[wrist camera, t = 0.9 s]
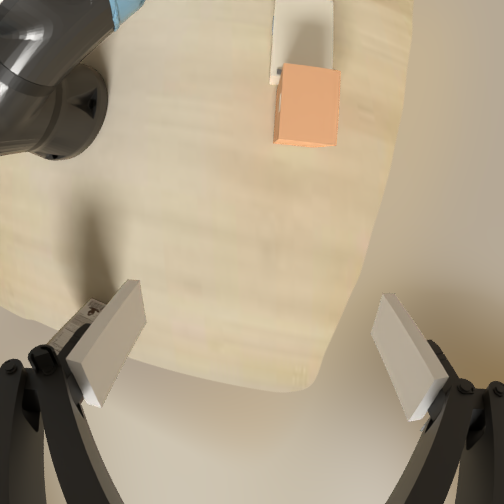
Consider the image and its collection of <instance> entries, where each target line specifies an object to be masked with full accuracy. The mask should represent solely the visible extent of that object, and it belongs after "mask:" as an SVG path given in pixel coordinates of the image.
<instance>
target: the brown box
mask: <svg viewBox="0 0 504 504" xmlns="http://www.w3.org/2000/svg"><path fill="white" fill-rule="evenodd" d="M340 74H341V71H338V70H332V69H326V68H320V67H313V66H305V65H297V64H288V63H284V64H283V68H282V72H281V76H280V80H279V84H278V88H277V98H276V112H275V126H274V140H273V143H276V144H287V145H297V146H306V147H324V146H336V143H337V130H338V116H339V98H340Z"/></svg>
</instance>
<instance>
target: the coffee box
mask: <svg viewBox="0 0 504 504" xmlns="http://www.w3.org/2000/svg"><path fill="white" fill-rule="evenodd" d="M105 306H106V304H104V303H102V302H99V301H97V300H95V299H93V298H91V299H90V300H89V301H88V302H87V303H86V304H85V305H84V306H83V307H82V308H81V309H80V310H79V311H78V312H77V313H76V314H75V315H74V316H73V317H72V318H71V319H70V320H69V321H68V322H67V323H66V324H65V325H64V326H63V327H62V328H61V329H60V330H59V331H58V333H56V334H55V335H54V336H53V338H52V339H51V340H50V341H49V342H48V343H47V344H46V345H50V346H52V347H53V348H54V350H55V352H56V355H58V353H59V352H60V351H61V350H62V348H63V347H64V346H65V344H66V343H67V342H68V340H69V339H70V338H71V337H73V334H74V333H75V331H76V330H77V329H78V328H79V327H81V326H82V325H84V324H85V323H88V324H92V323H93V322H94V320H95V319H96V318H97V316H98V315H99V314H100V313H101V311H102V310H103V309H104V307H105ZM83 399H84V397H83V396H82V398H81V400H80V401H79V402H80V403H82V401H83Z"/></svg>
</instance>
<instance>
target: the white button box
mask: <svg viewBox="0 0 504 504" xmlns="http://www.w3.org/2000/svg"><path fill="white" fill-rule="evenodd" d="M272 35H273V37H272V52H271V67H270V82H269V84H273V85H278V84H279V80H280V76H281V72H282V68H283V64H284V63H288V64H297V65H305V66H313V67H320V68H326V69H332V70H333V1H329V0H275V7H274V16H273V27H272Z"/></svg>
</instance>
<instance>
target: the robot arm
mask: <svg viewBox="0 0 504 504" xmlns="http://www.w3.org/2000/svg"><path fill="white" fill-rule="evenodd" d="M144 2H145V0H0V156H2V155H8V154H15V153H21V152H30V153H33V154H35V155H38V156H40V157H42V158H45V159H48V160H65V159H70V158H73V157H75V156H77V155H79V154H80V153H82V152H83V151H84V150H85V149H87V148H88V146H89V145H90V144H91V143H92V142H93V140H94V139H95V138H96V136H97V134H98V133H99V131H100V129H101V126H102V124H103V121H104V118H105V114H106V109H107V90H106V86H105V83H104V80H103V78H102V77H101V75H100V74H99V73H98V72H97V71H96V70H95V69H93V68H92V67H90V66H87V65H84V64H81V63H80V62H81V61H82V60H83V59H84V58H85V57H86V56H87V55H88V54H89V53H90V52H91V51H92V50H93V49H94V48H95V47H96V46H97V45H98V44H99V43H101V42H102V41H103V40H104V39H105V38H106V37H107V36H108V35H110V34H111V33H112V32H113V31H116V30H118V29H119V26H120V25H121V24H122V23H123V22H124V21H125V20H127V19H128V18H129V17H130V16H131V15H132V14H134V13H135V12H136V11H137V10H139V9H140V8H141V7H142V5H143V4H144ZM145 324H146V316H145V310H144V304H143V298H142V292H141V285H140V281H139V280H128V279H127V281H126V282H125V283H124V284H123V285H122V287H121V288H120V289H119V290H118V291H117V293H116V294H115V295H114V296H113V298H112V299H111V300H110V301H109V302H108V304H107V305H106V306H105V307H104V309H103V310H102V311H101V313H100V314H99V315H98V316H97V318H96V319H95V320H94V322H93V323H92V324H88V323H85V324H84V325H82V326H81V327H79V328H78V329H77V330H76V331H75V333H74V334H73V337H71V338H70V339H69V340H68V342H67V343H66V344H65V346H64V347H63V348H62V350H61V351H60V352H59V353H58V355H56V352H55V350H54V348H53V347H52V346H50V345H46V344H45V345H39V346H37V347H35V348H34V349H32V350H31V351H30V353H29V354H28V360H29V362H30V364H31V366H32V368H24V367H23V365H22V363H21V361H20V360H18V359H11V360H8V361H6V362H5V363H4V364H2V366H1V368H0V504H46V494H45V481H44V456H43V455H44V453H43V452H44V451H43V450H44V447H43V446H44V443H43V442H44V430H45V434H46V438H47V442H48V446H49V450H50V454H51V458H52V461H53V464H54V468H55V471H56V474H57V477H58V480H59V483H60V486H61V489H62V492H63V494H64V497H65V499H66V502H67V504H124V502H123V501H122V499H121V497H120V495H119V493H118V491H117V489H116V487H115V485H114V484H113V482H112V479H111V478H110V475H109V473H108V471H107V469H106V467H105V465H104V462H103V460H102V458H101V456H100V453H99V451H98V449H97V446H96V444H95V441H94V439H93V436H92V433H91V431H90V428H89V425H88V423H87V420H86V417H85V414H84V411H83V408H82V405H81V403H80V402H79V401H80V400H81V398H82V396H83V397H84V399H85V400H86V402H87V404H90V405H93V406H97V407H100V408H102V406H103V404H104V402H105V400H106V398H107V396H108V394H109V392H110V390H111V388H112V386H113V384H114V382H115V380H116V378H117V376H118V374H119V372H120V370H121V368H122V367H123V365H124V363H125V361H126V359H127V357H128V355H129V353H130V351H131V350H132V348H133V346H134V344H135V342H136V340H137V338H138V337H139V335H140V333H141V331H142V329H143V328H144V326H145ZM371 335H372V337H373V340H374V342H375V344H376V346H377V348H378V350H379V353H380V355H381V357H382V360H383V362H384V364H385V367H386V369H387V371H388V373H389V376H390V378H391V381H392V383H393V385H394V388H395V390H396V393H397V395H398V398H399V400H400V403H401V405H402V408H403V410H404V413H405V415H406V418H407V421H408V422H409V421H414V420H419V419H422V418H423V417H424V415H425V413H426V412H427V411H428V412H429V415H430V418H429V419H428V421H427V422H426V423H425V425H424V426H423V427H422V429H421V430H420V431H423V432H422V435H421V437H420V439H419V441H418V444H417V446H416V448H415V450H414V452H413V454H412V456H411V458H410V461H409V462H408V465H407V466H406V468H405V470H404V472H403V474H402V476H401V478H400V480H399V482H398V483H397V485H396V487H395V488H394V490H393V492H392V494H391V495H390V497H389V499H388V500H387V502H386V503H385V504H443V503H444V501H445V499H446V496H447V494H448V491H449V489H450V486H451V484H452V481H453V478H454V475H455V473H456V469H457V467H458V464H459V461H460V468H459V477H458V486H457V494H456V500H455V504H504V384H503V383H501V382H498V381H493V382H491V383H490V384H489V386H488V387H487V389H476V388H475V387H474V385H473V384H472V383H471V382H470V381H468V380H466V379H462V378H461V379H459V377H458V376H457V374H456V372H455V371H454V369H453V367H452V366H451V365H450V363H449V361H448V360H447V358H446V356H445V355H444V354H443V352H442V351H441V349H440V347H439V346H438V345H437V344H436V343H435V342H433V341H432V340H426V339H425V337H424V336H423V334H422V333H421V331H420V330H419V328H418V327H417V325H416V324H415V322H414V321H413V319H412V318H411V316H410V315H409V313H408V312H407V310H406V309H405V307H404V306H403V305H402V303H401V302H400V300H399V299H398V298H397V296H396V295H395V293H383V294H382V298H381V301H380V305H379V308H378V312H377V315H376V318H375V321H374V325H373V328H372V331H371ZM423 429H424V430H423Z"/></svg>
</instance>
